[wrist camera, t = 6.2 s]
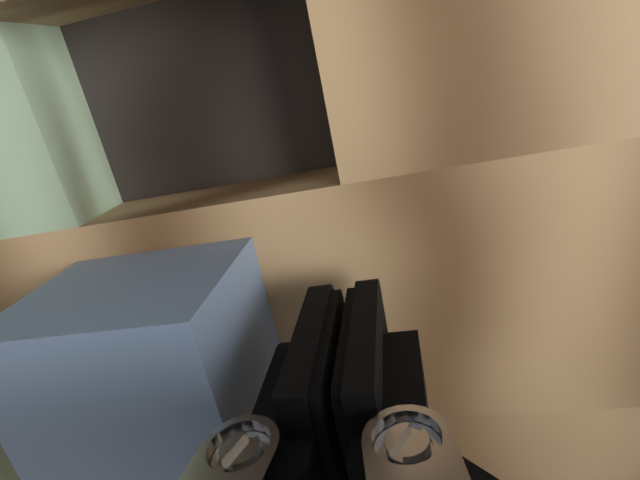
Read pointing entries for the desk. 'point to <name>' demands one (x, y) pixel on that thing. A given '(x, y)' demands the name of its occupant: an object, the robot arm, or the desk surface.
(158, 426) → the block
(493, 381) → the box
